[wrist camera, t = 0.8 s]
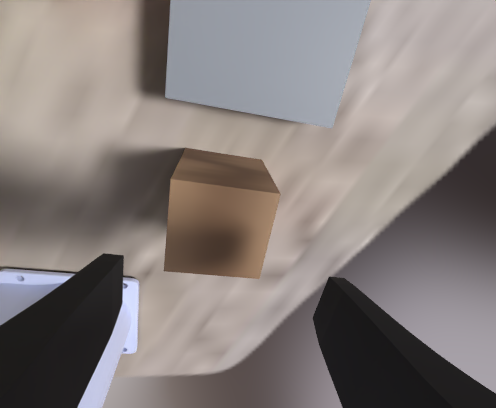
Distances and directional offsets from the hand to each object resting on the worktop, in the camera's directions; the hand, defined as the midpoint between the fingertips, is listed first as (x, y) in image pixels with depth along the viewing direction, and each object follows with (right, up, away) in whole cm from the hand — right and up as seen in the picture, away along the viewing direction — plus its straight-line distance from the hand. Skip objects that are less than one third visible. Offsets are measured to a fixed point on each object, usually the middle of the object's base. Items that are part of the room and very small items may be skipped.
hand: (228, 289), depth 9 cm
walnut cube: (-1, +4, +9) cm, 10 cm away
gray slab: (+1, +13, +6) cm, 14 cm away
